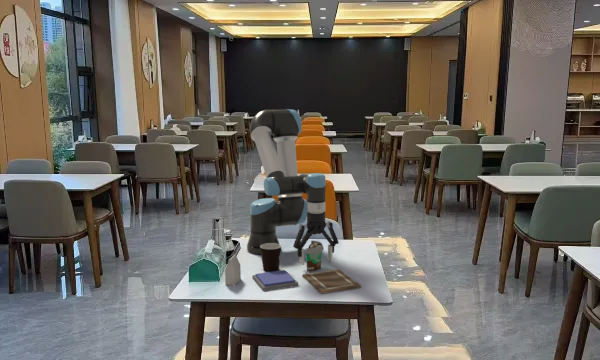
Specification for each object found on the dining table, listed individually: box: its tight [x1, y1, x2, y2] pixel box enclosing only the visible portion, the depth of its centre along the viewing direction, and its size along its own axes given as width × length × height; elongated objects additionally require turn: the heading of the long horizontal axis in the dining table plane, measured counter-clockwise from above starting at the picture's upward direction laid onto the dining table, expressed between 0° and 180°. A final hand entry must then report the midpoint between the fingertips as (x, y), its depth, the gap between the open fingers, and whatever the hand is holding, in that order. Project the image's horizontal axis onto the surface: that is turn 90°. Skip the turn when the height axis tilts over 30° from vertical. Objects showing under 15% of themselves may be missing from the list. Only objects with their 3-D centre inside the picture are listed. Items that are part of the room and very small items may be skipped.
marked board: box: [302, 268, 362, 295], centre depth 202 cm, size 19×16×1 cm
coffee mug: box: [260, 243, 282, 273], centre depth 217 cm, size 12×9×10 cm
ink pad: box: [252, 269, 299, 292], centre depth 203 cm, size 14×14×2 cm
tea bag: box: [224, 254, 242, 286], centre depth 202 cm, size 4×7×10 cm, turn 166°
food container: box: [305, 240, 324, 272], centre depth 217 cm, size 12×6×10 cm, turn 168°
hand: (316, 262), depth 218 cm, fingers open, 12 cm apart
